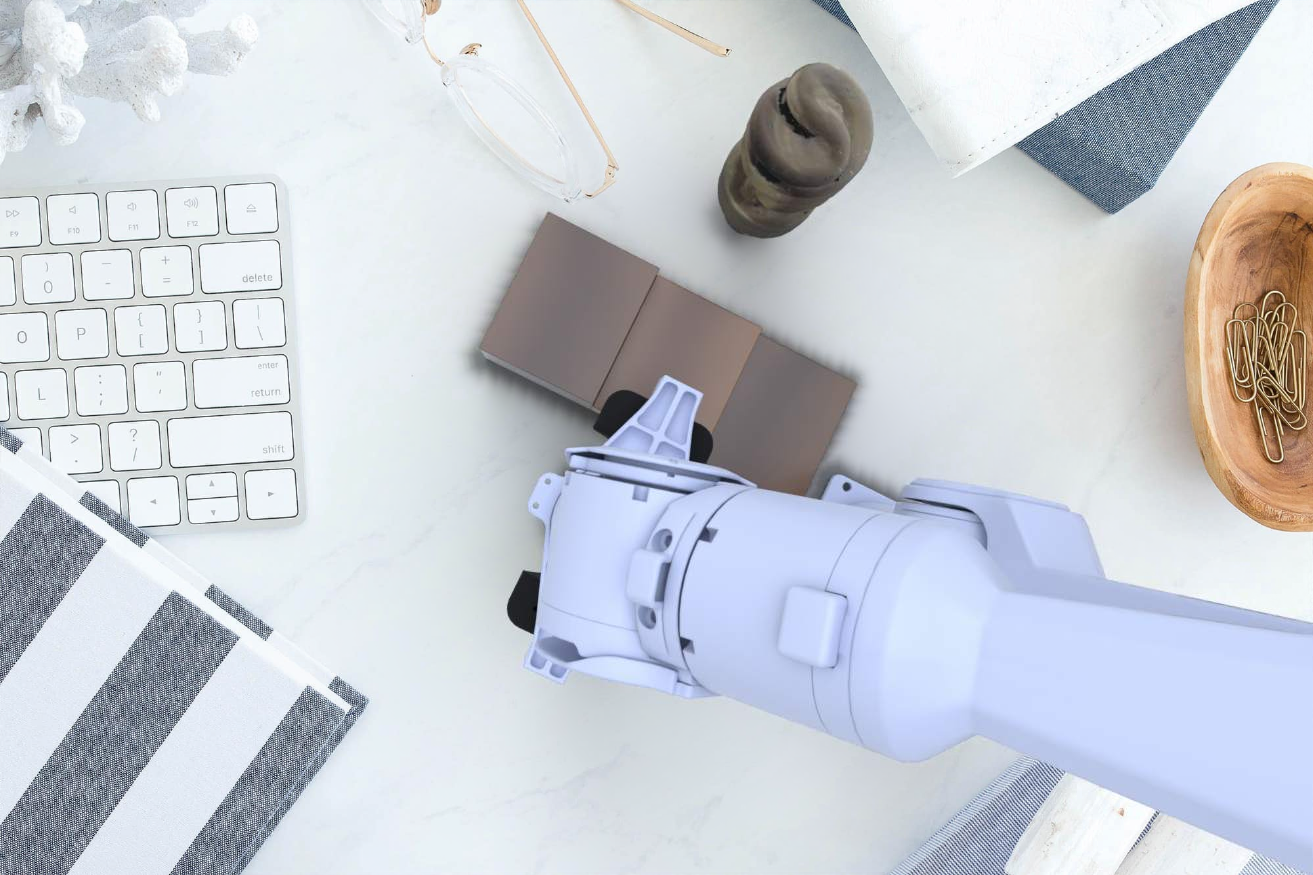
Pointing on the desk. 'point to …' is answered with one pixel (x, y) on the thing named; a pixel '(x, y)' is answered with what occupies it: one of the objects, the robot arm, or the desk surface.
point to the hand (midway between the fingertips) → (603, 515)
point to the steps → (664, 354)
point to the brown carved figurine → (796, 151)
